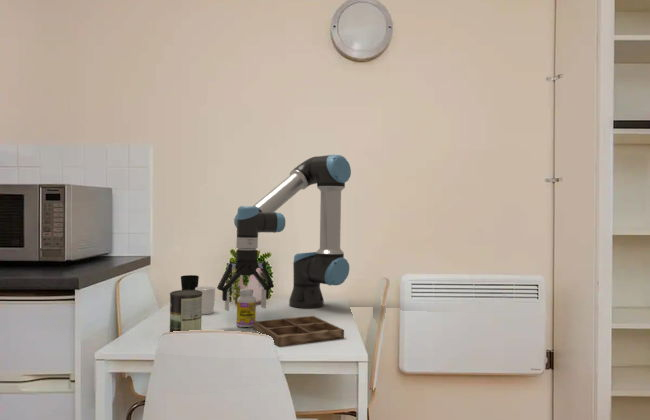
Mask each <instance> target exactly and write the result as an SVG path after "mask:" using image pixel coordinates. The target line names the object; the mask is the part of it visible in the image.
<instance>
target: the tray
mask: <svg viewBox="0 0 650 420" xmlns="http://www.w3.org/2000/svg"><path fill="white" fill-rule="evenodd" d="M253 329H254V330H256V331H258V332H260V333H262V334H266V335H269V336H271V337H272V338H273V340H274V343H275V344H274V343H273V344H274V345H275V346H276V347H278V348H279V347H284V346H293V345H301V344H308V343H318V342H326V341H333V340H341V339H345V329H343V328H341V327H339V326H337V325H334V324H332V323H330V322H328V321H326V320H323V319H321V318H319V317H316V316H315V315H308V316H298V317H289V318H279V319H277V318H276V319H269V320H268V319H267V320H257V321H256V320H255V322H253ZM254 330H253V331H254ZM256 331H255V332H256Z"/></svg>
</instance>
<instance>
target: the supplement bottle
mask: <svg viewBox="0 0 650 420" xmlns="http://www.w3.org/2000/svg"><path fill="white" fill-rule="evenodd" d="M239 294H240V296H239V297H238V298H237V299H236V326H237V327H238V326H239V327H238V328H242V327H248V328H252V326H253V322H255V321H256V315H257V312H256V311H257V305H256V304H257V300H256V297H255V296H253V294H254V289H252V288H244V289H243V288H242V289H240V290H239Z"/></svg>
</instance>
